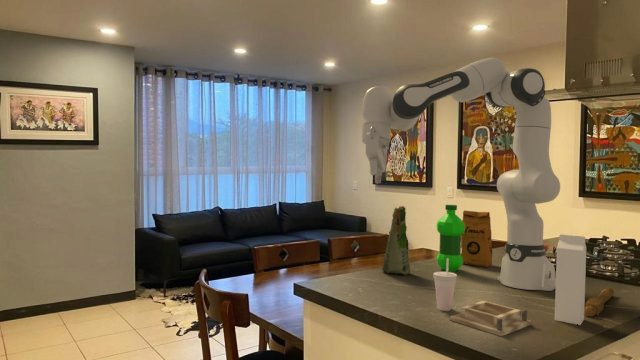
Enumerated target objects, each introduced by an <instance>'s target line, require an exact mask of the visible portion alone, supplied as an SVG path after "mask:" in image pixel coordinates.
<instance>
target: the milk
mask: <svg viewBox="0 0 640 360" xmlns="http://www.w3.org/2000/svg"><path fill="white" fill-rule="evenodd" d="M555 263H556V265H555V266H556V267H555V269H556V270H555V278H556V288H555V294H554V295H555V298H554V299H555V300H554V321H557V322H560V323H561V322H562V323H568V324H572V325H577V324H578V326H581V325H582V324H583V322H584V320H585V313H584V309H585V304H586V302H585V301H586V300H585V296H586V274H587V273H586V270H587V266H586V265H587V245H586V237H585V236H580V235H572V234H571V235H569V234H559V237H558V243H557V246H556V261H555Z"/></svg>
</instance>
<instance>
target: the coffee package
mask: <svg viewBox="0 0 640 360" xmlns="http://www.w3.org/2000/svg"><path fill="white" fill-rule="evenodd" d="M461 220H462V221H463V222H464V225H465V231H464V233H463V234H462V235H461V256H462V258H463V264H465V265H469V266H476V267H485V268H489V267H491V266H493V248H492V245H493V244H492V227H491V215H490V212H489V211H476V210H475V211H474V210H473V211H472V210H466V209H465V210H463V212H462V219H461Z"/></svg>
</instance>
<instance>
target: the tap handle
mask: <svg viewBox="0 0 640 360" xmlns="http://www.w3.org/2000/svg"><path fill="white" fill-rule="evenodd" d="M614 294H615V293H614V289H613V288H611V287H604V288H603V289H602V290H601V291H600V293H599V294H598V296H597V297H592V296H591V297H590V298H589V299H588V300H587V301H586V302H585V304H584V315H586V316H587V317H589V316H590V318H592V317H594V316H599V315H600V314H601V313H602V312H603V311H604V309H605V308H604V307H605V303H606V302H607V301H609V300H610V299H611V297H613V296H614ZM594 306H595V307H594ZM600 312H601V313H600ZM599 313H600V314H599Z"/></svg>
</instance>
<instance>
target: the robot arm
mask: <svg viewBox="0 0 640 360" xmlns="http://www.w3.org/2000/svg"><path fill="white" fill-rule="evenodd" d="M545 86H546V83H545V78H544V76H543V74H542V72H540V71H539V70H538V69H536V68H530V67H527V68H526V67H525V68H521V69H517V70H513V71H510V72H509V71H507V70H506V67H505V65H504V63H503V62H502V61H501V59H499V58H496V57H487V58H483V59H482V58H481V59H479V60H477V61H474V62H471V63H468V64H466V65H464V66H462V67H461V68H458V69H457V70H455V71H453V72H449V73H447V74H444V75H440V76H438V77H436V78H434V79H431V80H428V81H425V82H422V83H411V84H404V85H402V86H400V87H399V88H398V89H397V90H396V91H395V93H394V92H393V91H391V90H390V89H389V88H388V86H384V85H377V86H373V87H371V88H369V89H367V91H366V92H365V94H364V97H363V101H362V117H363V123H362V127H361V129H362V130H361V131H362V133H361V134H362V135H361V141H362V143H363V144H365V156H366V158H367V160H368V161H369V167H370V172H369V173H370V174H371V176H374V182H375V184H381V183H382V175H383V173H385V172H386V168H387V160H388V150H390V142H391V130H396V131H408V130H411V129H412V128H414V126H415V125H416V124H417V122H418V121H419V120H420V117H421V116H422V114H423V113H424V111H425V110H426V109H427V108H428V107H429V106H430V105H431V104H432V103H435V102H438V101H440V100H442V99H444V98H447V97H451V98H452V99H453V100H455V101H456V102H459V103H466V102H469V101H472V100H475V99H478V98H479V97H481V96H483V95H485V96H486V98H487V101H488V102H489V103H490V104H491V105H492V106H494V107H496V108H501V109H503V108H509V107H513V108H514V111H515V114H516V115H515V116H516V118H515V123H514V124H515V125H514V131H513V141H512V151H513V152H512V153H514V155H515V157H516V158H517V162H518V169H511V170H508V171H506V172H504V173H502V174H500V175H499V177H498V178H497V181H496V189H497V191H498V194H499V195H500V196H501V198H502V201H503V204H504V209H505V212H506V213H505V214H506V218H507V220H506V221H507V226H506V227H507V228H506V229H507V235H506V237H507V238H506V239H507V240H506V242H505V246H504V248H505V251H504V252H505V255H504V256H503V257H502V259H501V268H500V275H498V276H497V278H496V279H497V281H499V282H500V284H502V285H504V286H506V287H510V288H515V289H520V290H528V291H530V290H531V291H533V290H534V291H547V292H548V291H549V292H551V291H554V290H556V270H555V269H556V267H555V265H553V263H552V262H551V261H550V260H549V259H548V257H547V256H546V255H547V254H546V251H549V248H550V247H549V244H544V220H543V218H542V216H541V215H540V214H539V212H538V209H537V206H536V204H545V203H549V202H552V201H554V200H555V199H556V198H557V197H558V196H559V194H560V192H561V182H560V180H559V177H558V176H557V175H556V174H555V172H554V170H553V168H552V167H553V166H552V163H551V160H550V139H551V129H552V108H551V103H550V100H549V99H548V98H547V97H546V96H545V95H546V90H545V89H546V87H545Z"/></svg>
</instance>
